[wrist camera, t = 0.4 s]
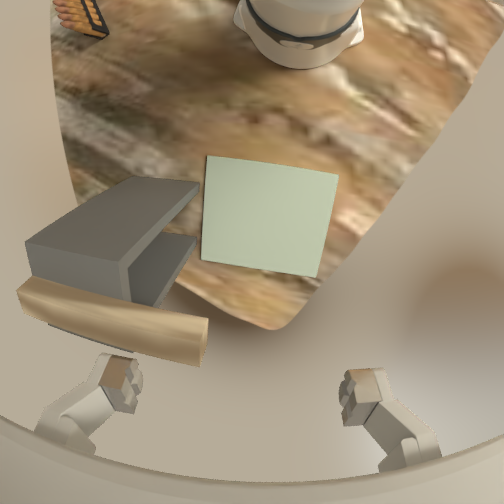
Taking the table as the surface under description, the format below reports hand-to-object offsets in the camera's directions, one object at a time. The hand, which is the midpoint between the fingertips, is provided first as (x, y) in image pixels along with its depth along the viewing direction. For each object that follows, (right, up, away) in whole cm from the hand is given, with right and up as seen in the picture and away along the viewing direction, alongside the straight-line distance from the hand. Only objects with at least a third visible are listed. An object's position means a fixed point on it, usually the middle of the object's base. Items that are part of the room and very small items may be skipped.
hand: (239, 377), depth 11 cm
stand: (-14, +12, +39) cm, 43 cm away
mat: (+3, +10, +37) cm, 39 cm away
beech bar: (-13, -1, +15) cm, 20 cm away
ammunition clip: (-26, +45, +23) cm, 57 cm away
